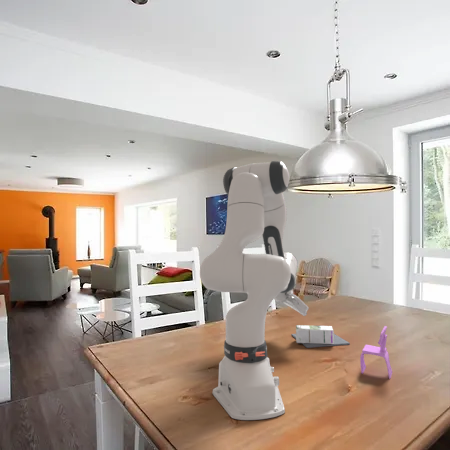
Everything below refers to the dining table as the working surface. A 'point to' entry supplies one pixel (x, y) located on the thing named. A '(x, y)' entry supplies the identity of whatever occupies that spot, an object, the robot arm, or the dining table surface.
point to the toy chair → (377, 352)
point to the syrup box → (314, 334)
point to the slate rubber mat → (336, 342)
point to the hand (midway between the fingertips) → (304, 314)
